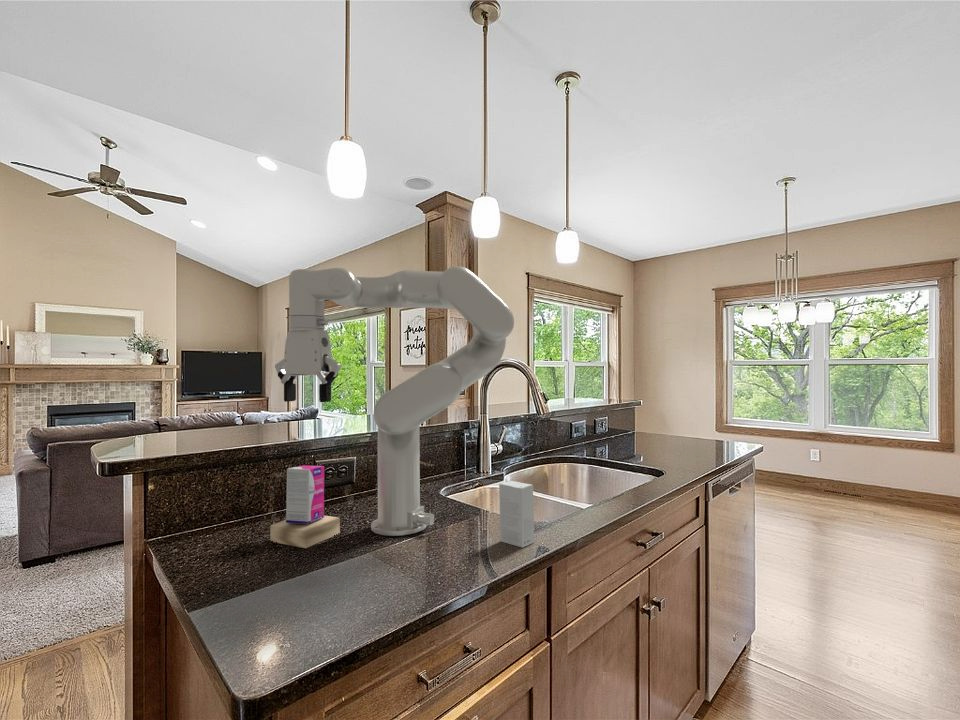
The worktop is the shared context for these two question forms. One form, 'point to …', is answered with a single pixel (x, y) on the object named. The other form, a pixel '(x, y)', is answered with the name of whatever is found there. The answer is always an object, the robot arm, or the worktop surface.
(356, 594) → the worktop surface
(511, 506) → the skincare box
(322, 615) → the worktop surface
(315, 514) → the supplement box
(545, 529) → the worktop surface
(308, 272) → the robot arm
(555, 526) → the worktop surface
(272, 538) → the oak block
